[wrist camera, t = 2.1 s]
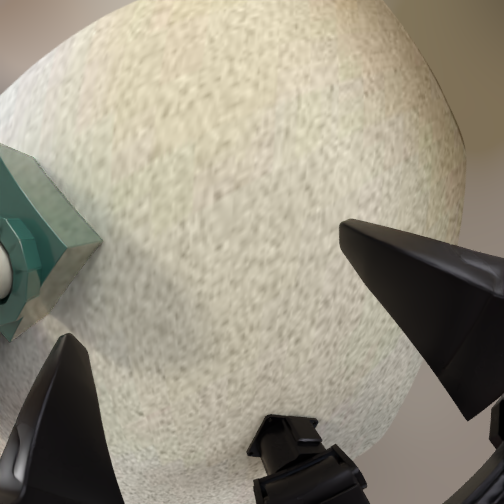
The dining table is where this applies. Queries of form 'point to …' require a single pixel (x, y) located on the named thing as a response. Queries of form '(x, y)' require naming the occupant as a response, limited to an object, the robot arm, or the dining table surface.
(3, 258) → the white push button
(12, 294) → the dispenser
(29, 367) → the dining table surface
